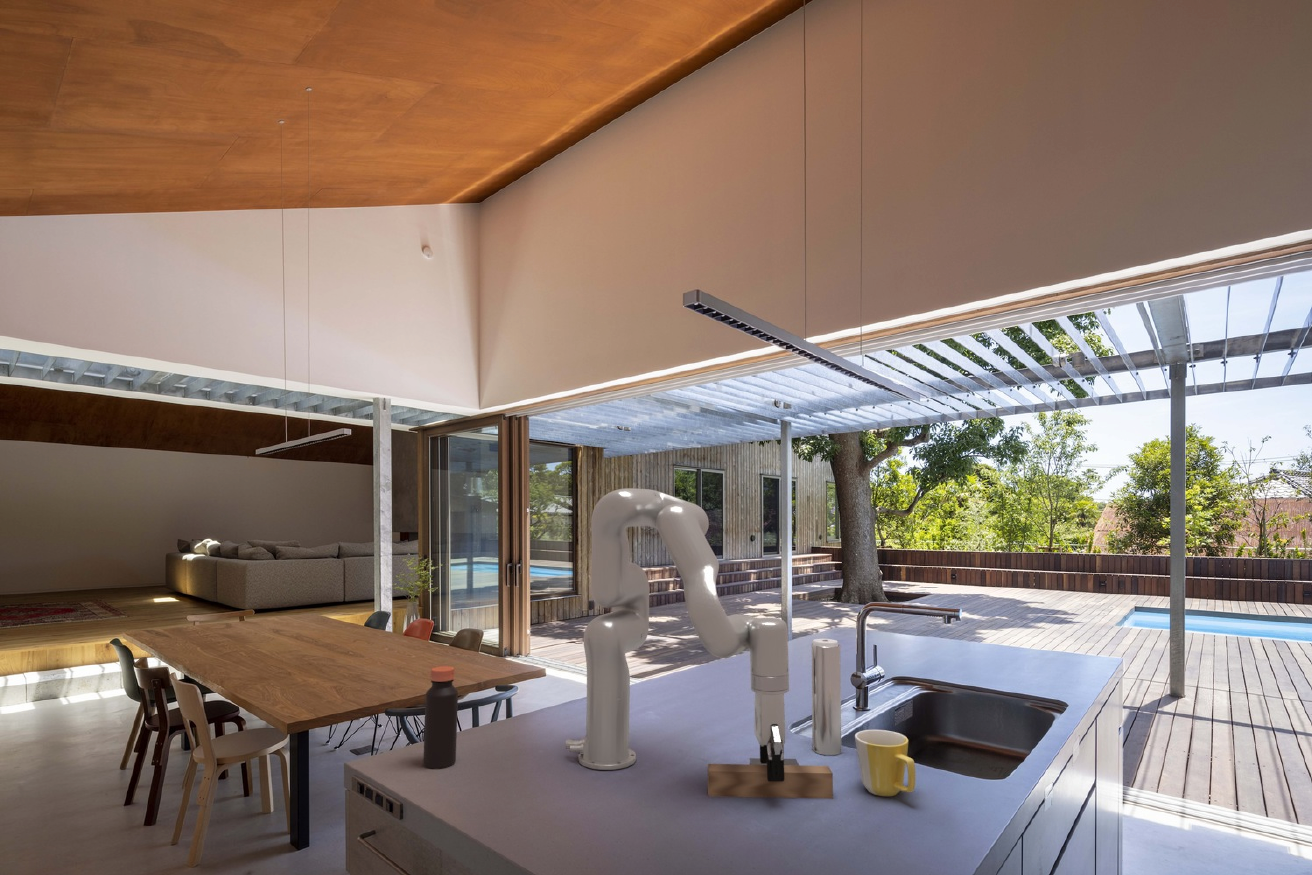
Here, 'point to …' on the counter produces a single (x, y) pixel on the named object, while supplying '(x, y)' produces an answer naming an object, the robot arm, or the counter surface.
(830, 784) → the walnut beam
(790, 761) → the ridge
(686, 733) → the counter surface
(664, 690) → the counter surface
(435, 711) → the bottle
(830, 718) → the silver metal cylinder
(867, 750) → the mug
